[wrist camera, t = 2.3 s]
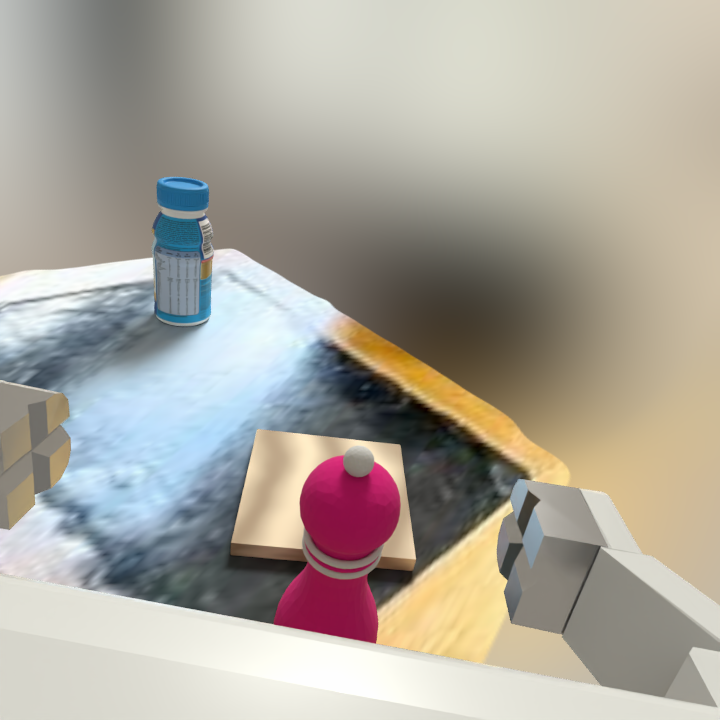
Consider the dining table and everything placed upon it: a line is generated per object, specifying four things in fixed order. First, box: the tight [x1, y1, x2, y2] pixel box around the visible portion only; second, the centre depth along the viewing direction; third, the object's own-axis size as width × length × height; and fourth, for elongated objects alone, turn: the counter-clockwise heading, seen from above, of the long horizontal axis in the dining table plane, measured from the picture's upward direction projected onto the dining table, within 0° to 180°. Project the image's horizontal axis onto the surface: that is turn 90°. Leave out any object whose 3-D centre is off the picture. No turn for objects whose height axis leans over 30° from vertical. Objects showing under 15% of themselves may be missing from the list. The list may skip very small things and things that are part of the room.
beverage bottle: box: [152, 177, 214, 326], centre depth 80 cm, size 8×8×20 cm
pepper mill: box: [274, 445, 401, 644], centre depth 36 cm, size 7×7×20 cm
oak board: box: [230, 429, 416, 571], centre depth 55 cm, size 16×16×2 cm
